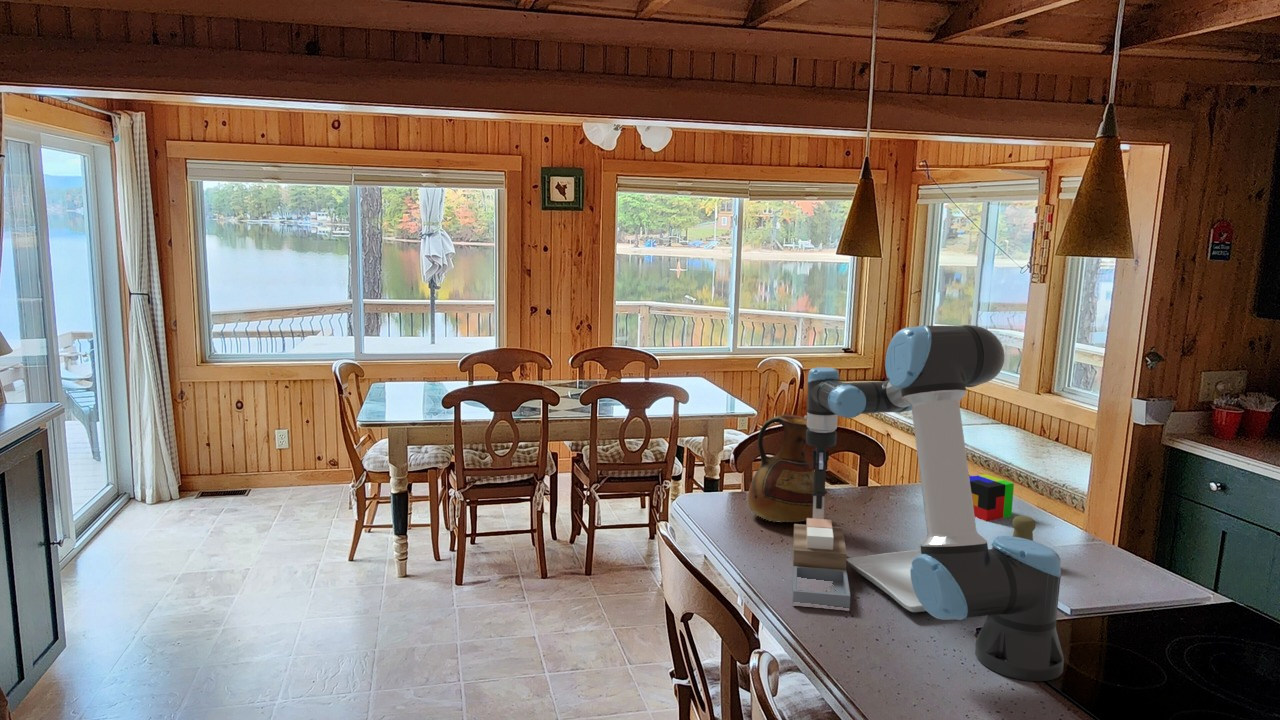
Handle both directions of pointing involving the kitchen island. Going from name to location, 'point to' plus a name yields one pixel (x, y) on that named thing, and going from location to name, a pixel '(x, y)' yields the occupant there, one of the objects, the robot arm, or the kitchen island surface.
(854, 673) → the kitchen island surface
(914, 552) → the square plate
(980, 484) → the puzzle toy
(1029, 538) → the cork
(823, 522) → the terracotta tile
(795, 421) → the ceramic pitcher
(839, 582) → the bin
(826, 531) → the cream tile
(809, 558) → the brushed bronze panel
